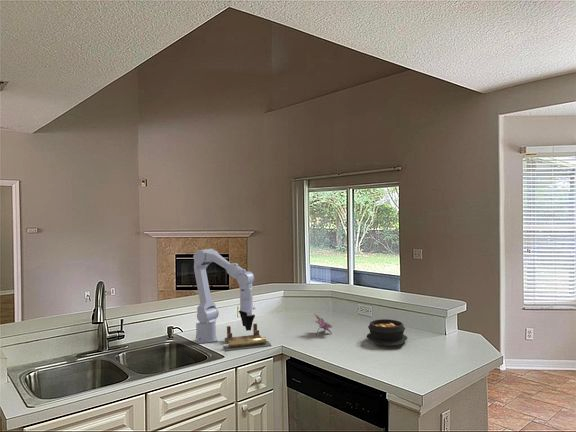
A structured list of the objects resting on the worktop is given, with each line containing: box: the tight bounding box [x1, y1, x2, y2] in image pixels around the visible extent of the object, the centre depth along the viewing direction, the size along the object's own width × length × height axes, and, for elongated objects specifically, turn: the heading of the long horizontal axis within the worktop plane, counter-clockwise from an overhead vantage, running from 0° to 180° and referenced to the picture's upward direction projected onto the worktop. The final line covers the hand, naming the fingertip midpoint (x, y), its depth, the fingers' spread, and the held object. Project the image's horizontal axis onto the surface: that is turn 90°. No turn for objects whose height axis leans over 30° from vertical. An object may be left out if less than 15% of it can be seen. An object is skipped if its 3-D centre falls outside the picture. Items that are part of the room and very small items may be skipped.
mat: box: [222, 340, 272, 352], centre depth 193 cm, size 21×7×1 cm, turn 106°
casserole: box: [366, 318, 408, 347], centre depth 196 cm, size 25×19×8 cm
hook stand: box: [224, 323, 262, 345], centre depth 203 cm, size 17×6×6 cm, turn 106°
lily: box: [313, 313, 333, 336], centre depth 210 cm, size 12×12×10 cm
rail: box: [227, 336, 267, 348], centre depth 193 cm, size 17×3×3 cm, turn 106°
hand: (246, 328), depth 193 cm, fingers open, 7 cm apart
